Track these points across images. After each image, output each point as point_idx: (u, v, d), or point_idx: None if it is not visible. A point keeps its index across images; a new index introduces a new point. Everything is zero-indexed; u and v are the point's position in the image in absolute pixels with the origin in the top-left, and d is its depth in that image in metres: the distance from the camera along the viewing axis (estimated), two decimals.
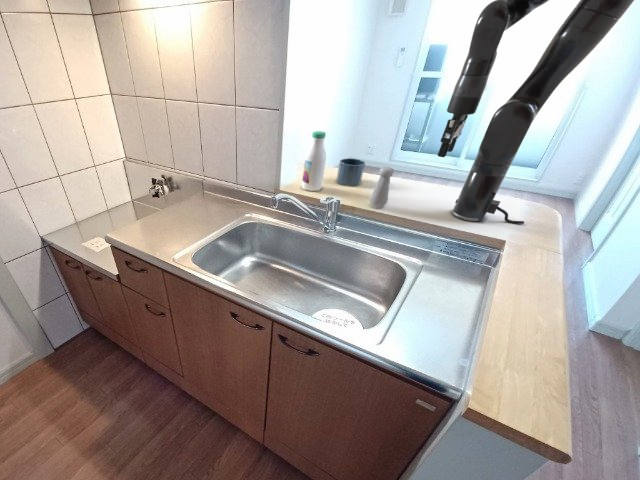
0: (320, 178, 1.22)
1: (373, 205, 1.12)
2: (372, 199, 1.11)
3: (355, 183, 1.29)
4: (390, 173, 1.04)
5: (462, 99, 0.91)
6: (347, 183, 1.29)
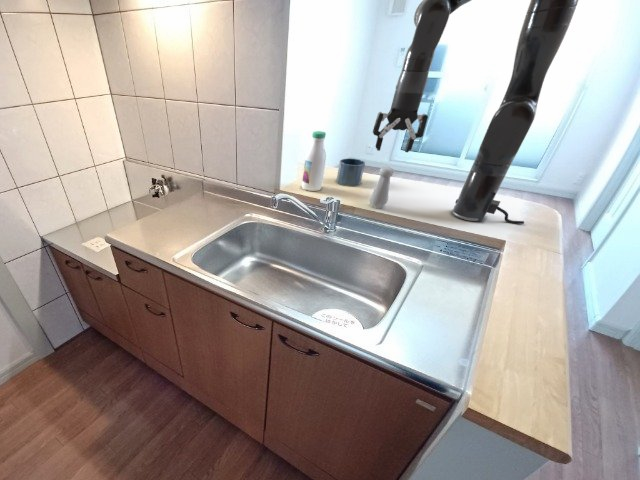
0: (320, 178, 1.22)
1: (373, 205, 1.12)
2: (372, 199, 1.11)
3: (355, 183, 1.29)
4: (390, 173, 1.04)
5: None
6: (347, 183, 1.29)
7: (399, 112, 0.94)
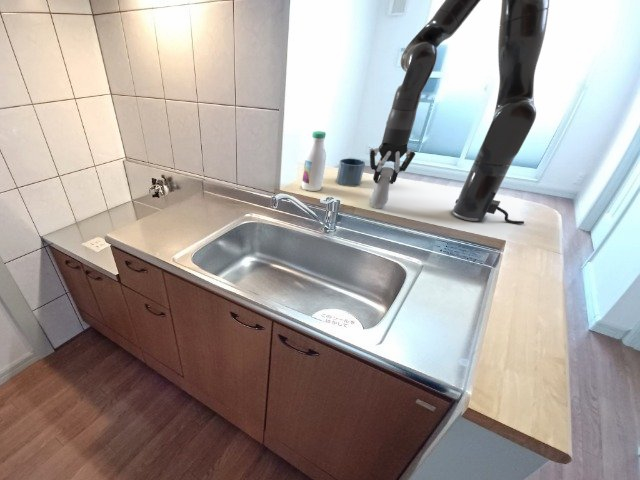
0: (320, 178, 1.22)
1: (373, 205, 1.12)
2: (372, 199, 1.11)
3: (355, 183, 1.29)
4: (389, 173, 1.04)
5: (385, 128, 0.99)
6: (347, 183, 1.29)
7: (390, 146, 1.00)
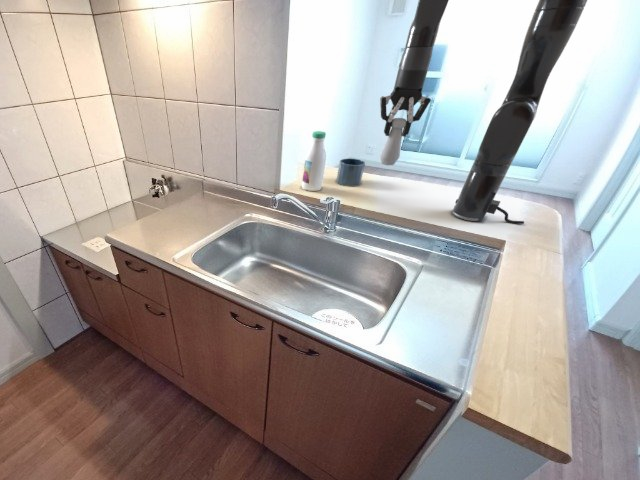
0: (320, 178, 1.22)
1: (384, 162, 1.03)
2: (383, 155, 1.02)
3: (355, 183, 1.29)
4: (402, 123, 0.96)
5: (398, 72, 0.90)
6: (347, 183, 1.29)
7: (403, 91, 0.92)
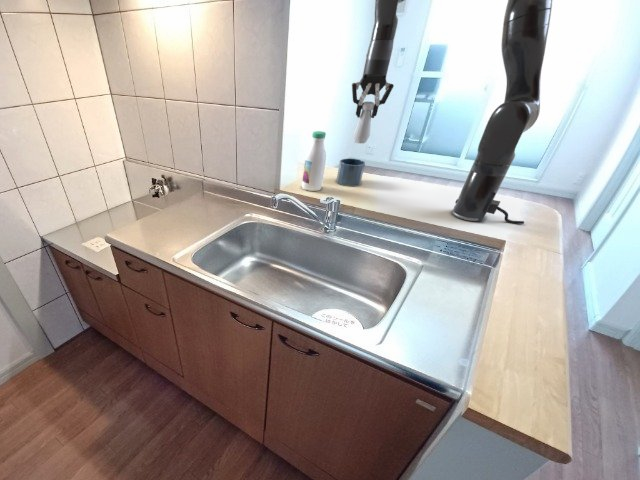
0: (320, 178, 1.22)
1: (356, 140, 1.19)
2: (355, 134, 1.18)
3: (355, 183, 1.29)
4: (370, 106, 1.12)
5: None
6: (347, 183, 1.29)
7: (370, 78, 1.08)
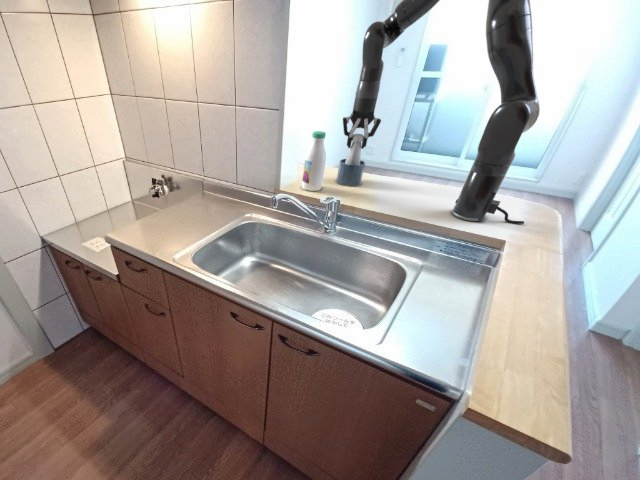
0: (320, 178, 1.22)
1: None
2: (346, 163, 1.27)
3: (355, 183, 1.29)
4: (360, 138, 1.21)
5: (355, 98, 1.15)
6: (347, 183, 1.29)
7: (359, 113, 1.17)
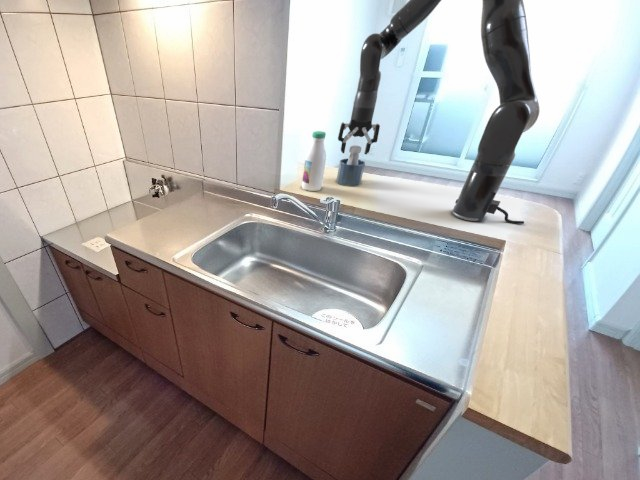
0: (320, 178, 1.22)
1: None
2: None
3: (355, 183, 1.29)
4: (357, 150, 1.23)
5: (353, 108, 1.17)
6: (347, 183, 1.29)
7: (357, 122, 1.19)
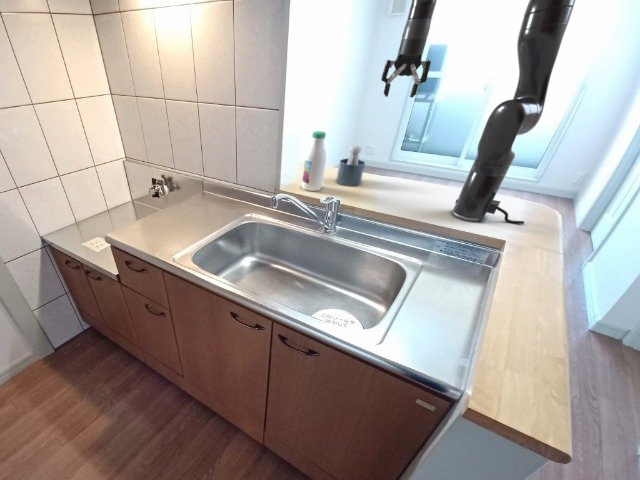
0: (320, 178, 1.22)
1: None
2: None
3: (355, 183, 1.29)
4: (357, 150, 1.23)
5: (401, 41, 1.05)
6: (347, 183, 1.29)
7: (405, 58, 1.06)
